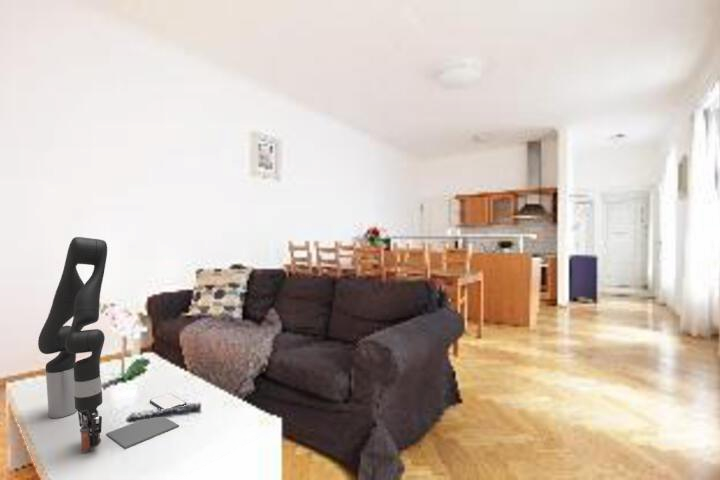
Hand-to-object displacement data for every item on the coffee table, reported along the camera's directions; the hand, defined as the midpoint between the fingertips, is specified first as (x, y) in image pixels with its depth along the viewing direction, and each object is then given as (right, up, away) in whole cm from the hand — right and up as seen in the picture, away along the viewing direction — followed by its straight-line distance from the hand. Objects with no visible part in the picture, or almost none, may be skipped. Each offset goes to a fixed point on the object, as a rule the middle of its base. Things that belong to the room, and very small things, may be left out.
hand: (91, 442), depth 137 cm
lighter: (0, -2, 0) cm, 2 cm away
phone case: (+11, 0, +31) cm, 33 cm away
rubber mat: (+12, -1, +10) cm, 15 cm away
